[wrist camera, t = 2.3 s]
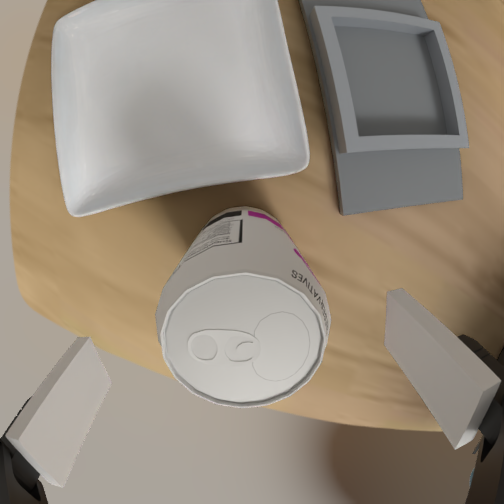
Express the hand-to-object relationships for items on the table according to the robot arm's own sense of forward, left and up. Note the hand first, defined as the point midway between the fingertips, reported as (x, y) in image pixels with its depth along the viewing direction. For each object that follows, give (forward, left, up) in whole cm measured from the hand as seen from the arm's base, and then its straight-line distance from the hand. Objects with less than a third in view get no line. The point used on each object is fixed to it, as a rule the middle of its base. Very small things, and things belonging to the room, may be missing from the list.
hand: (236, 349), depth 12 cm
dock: (+14, -16, -15) cm, 26 cm away
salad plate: (+16, +4, -16) cm, 23 cm away
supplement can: (0, 0, -15) cm, 15 cm away
